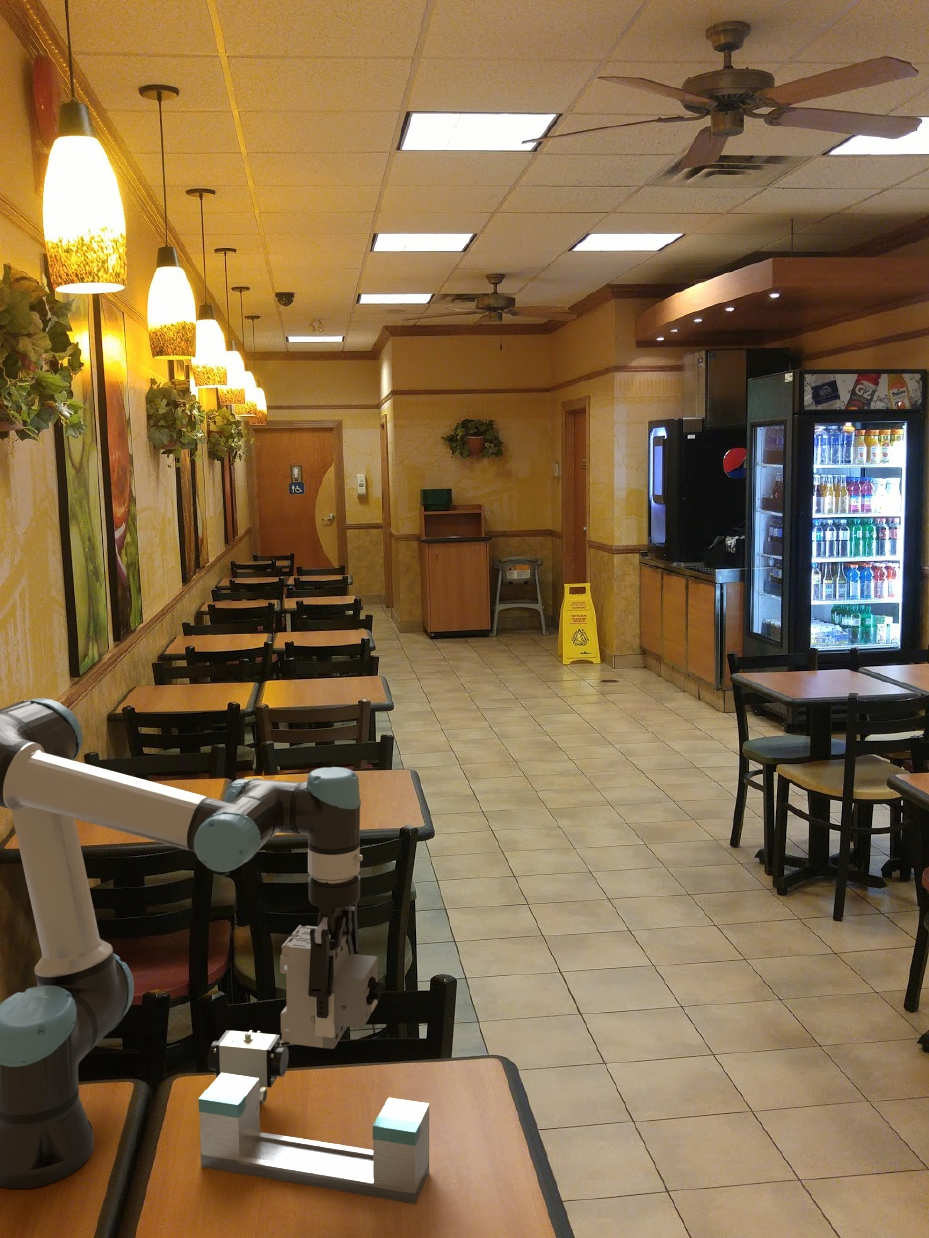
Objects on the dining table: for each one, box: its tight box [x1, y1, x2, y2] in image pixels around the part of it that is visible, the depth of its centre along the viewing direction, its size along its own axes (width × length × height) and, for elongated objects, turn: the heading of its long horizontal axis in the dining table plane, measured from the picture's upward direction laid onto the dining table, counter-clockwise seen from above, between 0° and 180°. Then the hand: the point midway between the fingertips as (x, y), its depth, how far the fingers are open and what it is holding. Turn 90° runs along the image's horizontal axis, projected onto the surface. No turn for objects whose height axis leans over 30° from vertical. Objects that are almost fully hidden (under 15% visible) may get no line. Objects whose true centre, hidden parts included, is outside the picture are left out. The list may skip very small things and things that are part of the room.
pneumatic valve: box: [207, 1029, 290, 1105], centre depth 171 cm, size 6×12×12 cm, turn 81°
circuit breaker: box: [279, 924, 386, 1050], centre depth 161 cm, size 8×14×15 cm, turn 78°
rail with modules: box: [198, 1073, 430, 1205], centre depth 154 cm, size 32×7×11 cm, turn 76°
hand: (335, 1021), depth 161 cm, fingers closed on circuit breaker, 8 cm apart
